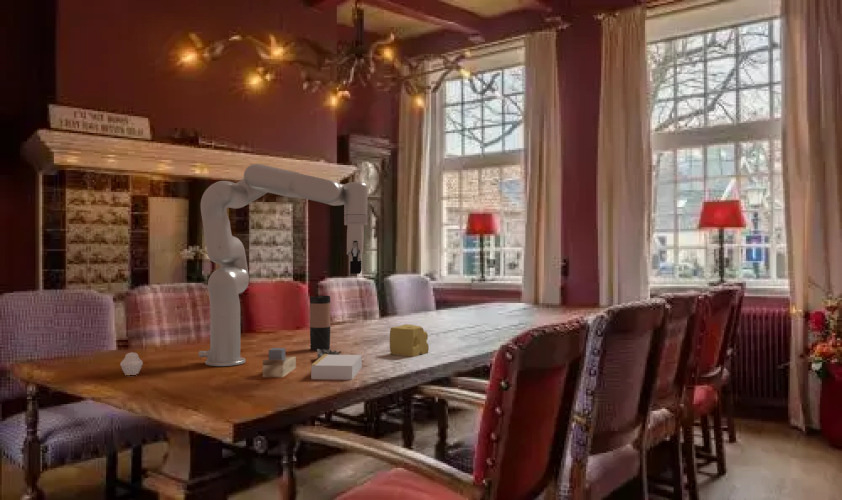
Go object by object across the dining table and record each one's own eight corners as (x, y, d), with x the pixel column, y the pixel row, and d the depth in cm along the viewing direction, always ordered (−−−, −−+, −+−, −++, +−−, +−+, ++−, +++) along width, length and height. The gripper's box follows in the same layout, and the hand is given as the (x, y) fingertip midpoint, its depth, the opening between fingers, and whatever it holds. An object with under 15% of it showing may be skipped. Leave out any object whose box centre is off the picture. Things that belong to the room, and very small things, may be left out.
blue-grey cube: (268, 363, 194) (268, 350, 194) (272, 361, 198) (272, 347, 198) (281, 363, 194) (281, 350, 194) (285, 361, 198) (285, 348, 198)
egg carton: (342, 363, 215) (342, 351, 215) (319, 364, 213) (319, 352, 213) (338, 358, 226) (338, 346, 226) (316, 358, 224) (316, 347, 224)
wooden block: (262, 378, 191) (262, 360, 191) (277, 369, 206) (277, 351, 206) (282, 378, 191) (282, 360, 191) (295, 369, 206) (295, 352, 206)
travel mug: (328, 351, 239) (328, 297, 239) (308, 351, 239) (308, 297, 239) (331, 347, 247) (331, 295, 247) (311, 347, 247) (311, 295, 247)
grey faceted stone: (145, 372, 197) (145, 350, 197) (139, 376, 191) (140, 353, 191) (123, 373, 196) (123, 350, 196) (117, 377, 190) (117, 353, 190)
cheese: (428, 353, 235) (428, 325, 235) (412, 357, 226) (412, 329, 226) (405, 350, 240) (405, 324, 240) (388, 354, 231) (388, 327, 231)
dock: (311, 379, 188) (311, 364, 188) (324, 367, 207) (324, 354, 207) (352, 379, 187) (352, 365, 187) (361, 367, 206) (361, 354, 206)
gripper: (345, 221, 219) (345, 272, 219) (342, 219, 201) (342, 274, 201) (368, 221, 219) (368, 272, 219) (366, 219, 202) (366, 274, 202)
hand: (355, 273), depth 210 cm, fingers open, 9 cm apart
